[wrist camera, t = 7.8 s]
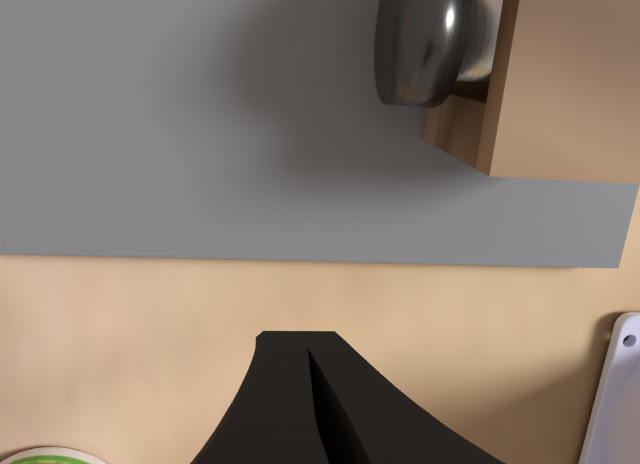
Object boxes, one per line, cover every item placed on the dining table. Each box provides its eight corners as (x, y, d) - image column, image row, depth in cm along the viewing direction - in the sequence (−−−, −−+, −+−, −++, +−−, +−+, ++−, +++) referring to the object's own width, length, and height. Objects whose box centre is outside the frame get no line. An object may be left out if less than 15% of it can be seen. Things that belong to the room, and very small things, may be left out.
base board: (601, 258, 21) (618, 268, 20) (1, 242, 18) (-12, 253, 17) (712, -203, 17) (740, -217, 16) (-52, -329, 14) (-73, -356, 13)
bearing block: (575, 148, 18) (689, 186, 14) (422, 139, 18) (489, 176, 13) (621, -63, 17) (768, -100, 12) (452, -83, 16) (541, -130, 11)
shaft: (705, 119, 18) (815, 139, 14) (368, 97, 16) (403, 113, 13) (740, -7, 17) (868, -18, 13) (383, -46, 15) (426, -69, 12)
